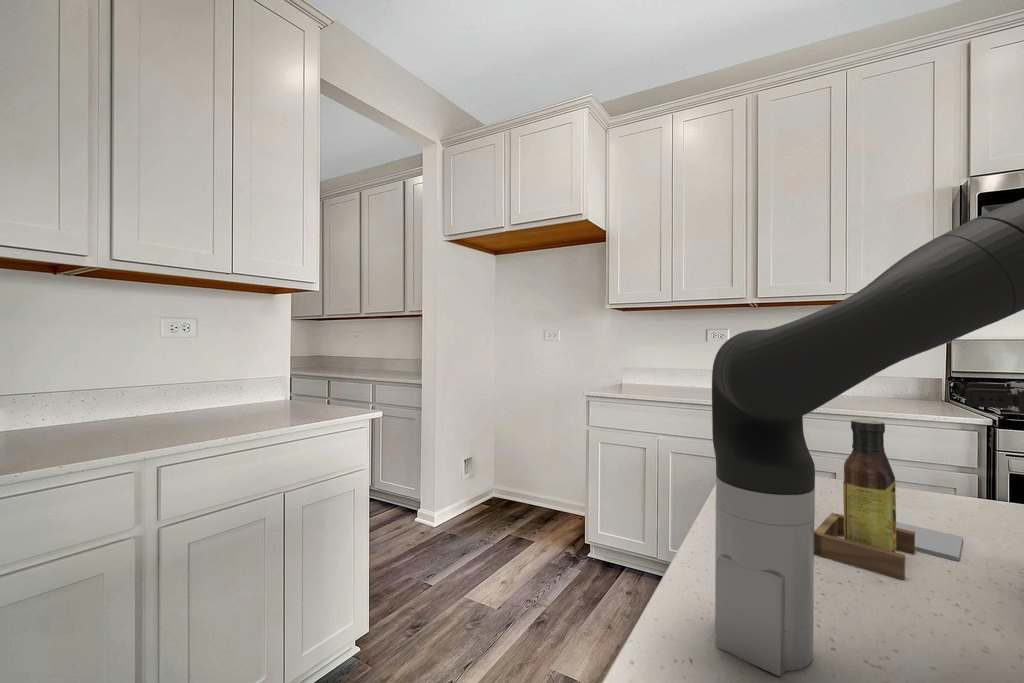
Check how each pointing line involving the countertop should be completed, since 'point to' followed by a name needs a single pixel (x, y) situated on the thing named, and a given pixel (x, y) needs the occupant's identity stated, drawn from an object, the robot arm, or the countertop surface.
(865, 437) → the sauce bottle
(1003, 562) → the countertop surface
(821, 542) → the walnut cradle
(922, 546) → the felt mat
